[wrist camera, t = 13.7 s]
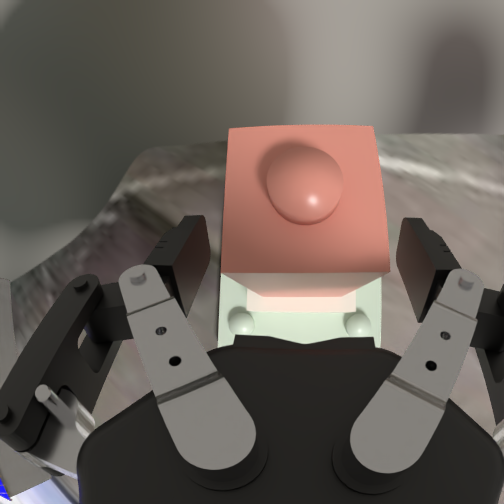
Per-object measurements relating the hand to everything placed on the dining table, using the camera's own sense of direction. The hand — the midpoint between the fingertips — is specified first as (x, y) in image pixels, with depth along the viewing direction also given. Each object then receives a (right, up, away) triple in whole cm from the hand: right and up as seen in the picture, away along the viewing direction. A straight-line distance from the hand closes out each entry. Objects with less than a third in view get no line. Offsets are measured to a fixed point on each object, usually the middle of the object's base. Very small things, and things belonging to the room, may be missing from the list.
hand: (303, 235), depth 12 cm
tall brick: (+1, -1, +6) cm, 6 cm away
